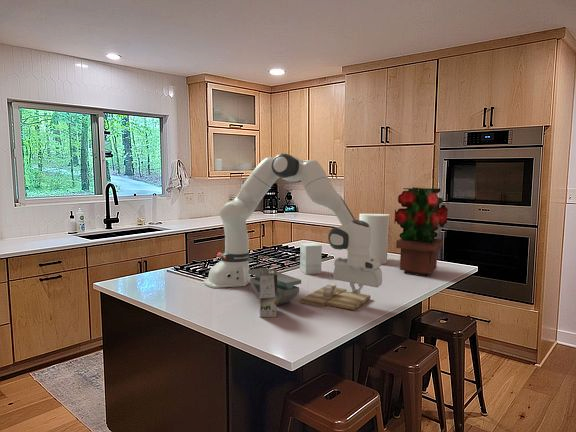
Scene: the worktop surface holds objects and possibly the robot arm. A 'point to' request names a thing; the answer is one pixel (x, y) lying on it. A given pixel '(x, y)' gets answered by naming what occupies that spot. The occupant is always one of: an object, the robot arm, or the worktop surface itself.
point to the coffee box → (268, 292)
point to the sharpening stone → (284, 286)
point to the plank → (348, 300)
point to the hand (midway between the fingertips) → (356, 293)
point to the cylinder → (377, 235)
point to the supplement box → (310, 258)
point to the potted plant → (419, 229)
